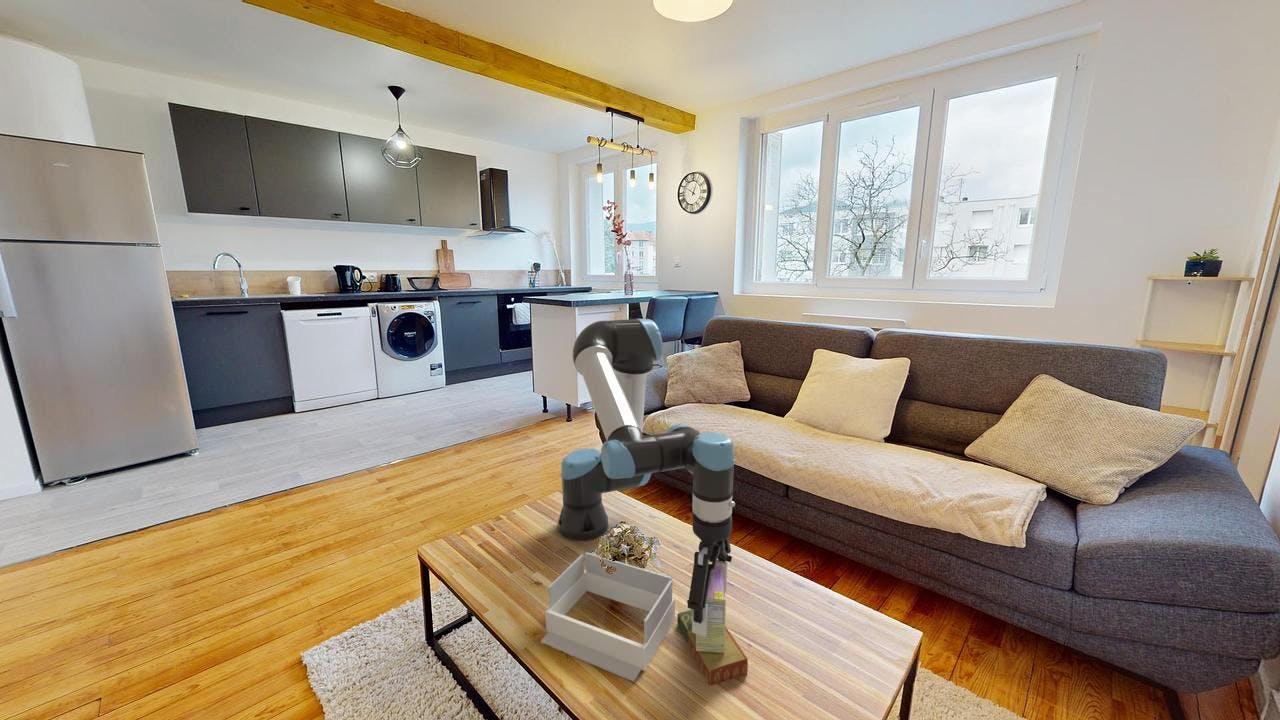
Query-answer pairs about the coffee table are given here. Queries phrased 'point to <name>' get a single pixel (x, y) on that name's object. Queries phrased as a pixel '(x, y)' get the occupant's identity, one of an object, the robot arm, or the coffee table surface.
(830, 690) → the coffee table surface
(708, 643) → the box
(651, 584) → the open crate
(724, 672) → the carton
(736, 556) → the coffee table surface
